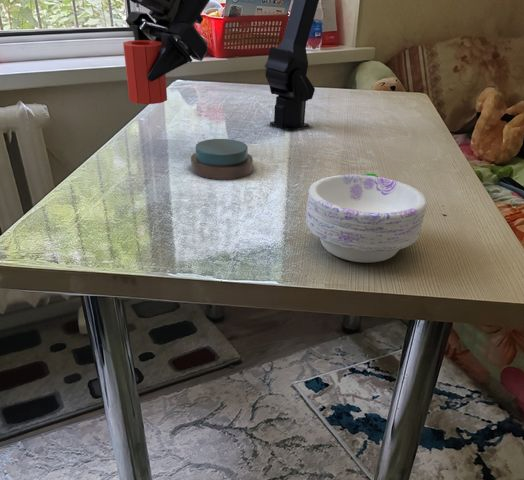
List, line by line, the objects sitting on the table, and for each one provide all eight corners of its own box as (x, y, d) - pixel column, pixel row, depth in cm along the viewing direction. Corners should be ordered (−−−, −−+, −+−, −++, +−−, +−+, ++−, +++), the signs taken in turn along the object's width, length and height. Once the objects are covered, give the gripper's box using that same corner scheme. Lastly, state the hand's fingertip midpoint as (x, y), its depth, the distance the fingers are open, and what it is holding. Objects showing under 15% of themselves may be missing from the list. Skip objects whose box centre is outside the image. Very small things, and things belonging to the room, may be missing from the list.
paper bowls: (391, 222, 82) (401, 170, 77) (433, 271, 70) (448, 213, 66) (292, 226, 80) (296, 172, 75) (319, 278, 68) (325, 218, 63)
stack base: (226, 155, 105) (226, 133, 102) (264, 171, 98) (265, 148, 96) (179, 166, 99) (177, 144, 96) (217, 184, 92) (216, 160, 90)
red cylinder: (164, 94, 102) (159, 39, 97) (169, 103, 97) (165, 46, 91) (128, 95, 101) (121, 40, 95) (131, 104, 95) (125, 46, 90)
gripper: (129, -44, 94) (79, 33, 95) (189, -38, 83) (131, 49, 84) (172, 8, 103) (126, 78, 104) (231, 19, 91) (178, 98, 92)
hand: (138, 75), depth 96 cm, fingers closed on red cylinder, 7 cm apart
